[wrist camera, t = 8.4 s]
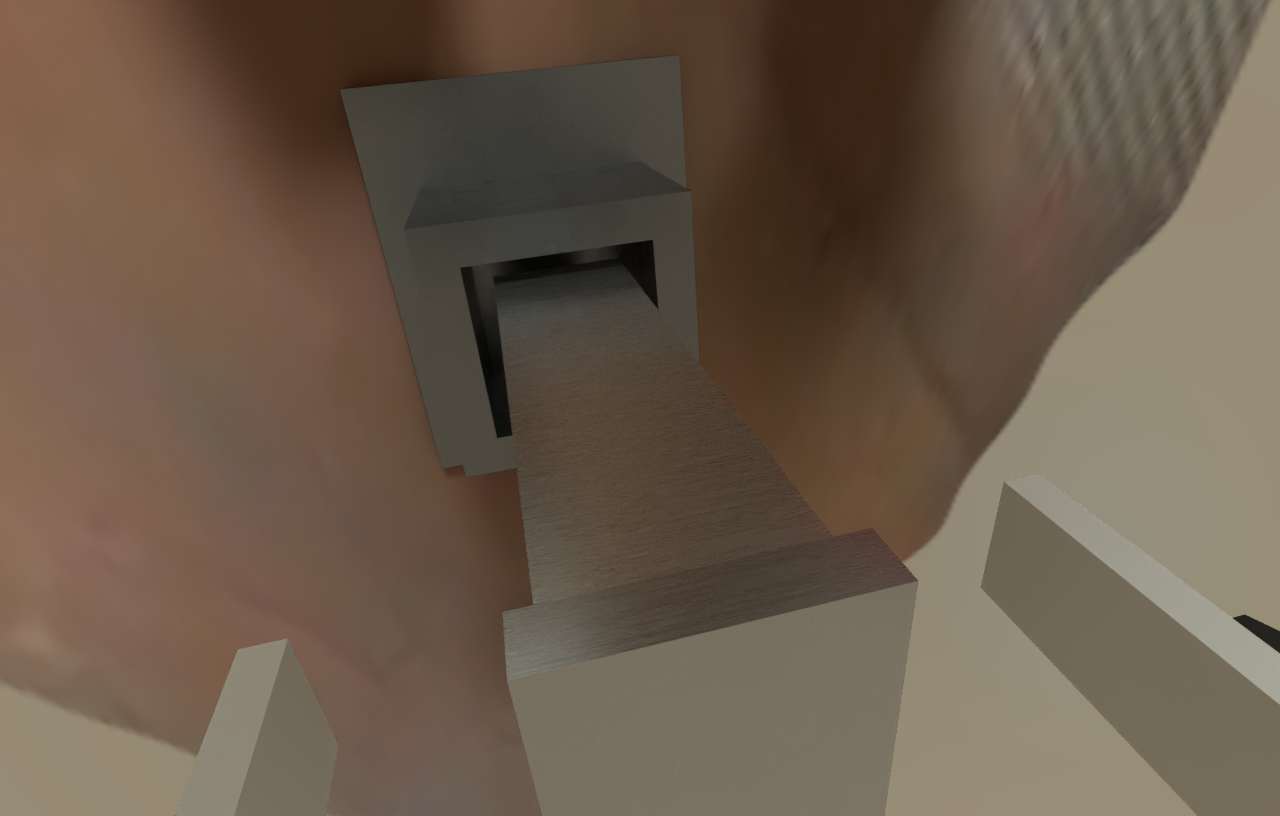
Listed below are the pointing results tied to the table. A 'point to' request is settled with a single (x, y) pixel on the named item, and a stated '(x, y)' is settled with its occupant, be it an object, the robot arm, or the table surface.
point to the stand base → (519, 214)
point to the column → (680, 582)
